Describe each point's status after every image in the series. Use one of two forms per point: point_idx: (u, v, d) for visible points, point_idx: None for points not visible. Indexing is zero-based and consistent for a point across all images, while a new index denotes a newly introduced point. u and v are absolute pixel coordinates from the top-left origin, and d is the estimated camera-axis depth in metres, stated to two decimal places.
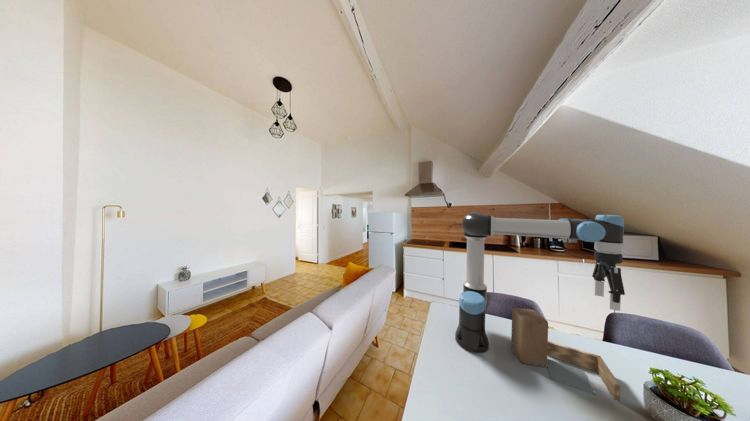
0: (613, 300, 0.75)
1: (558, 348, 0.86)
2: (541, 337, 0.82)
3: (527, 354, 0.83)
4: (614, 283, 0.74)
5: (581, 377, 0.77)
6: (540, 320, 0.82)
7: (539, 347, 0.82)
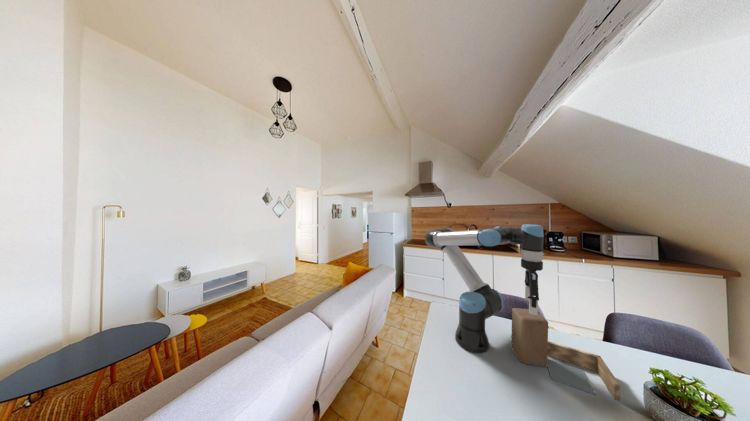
0: (531, 305, 0.80)
1: (558, 348, 0.86)
2: (541, 337, 0.82)
3: (527, 354, 0.83)
4: (531, 289, 0.79)
5: (581, 377, 0.77)
6: (540, 320, 0.82)
7: (539, 347, 0.82)
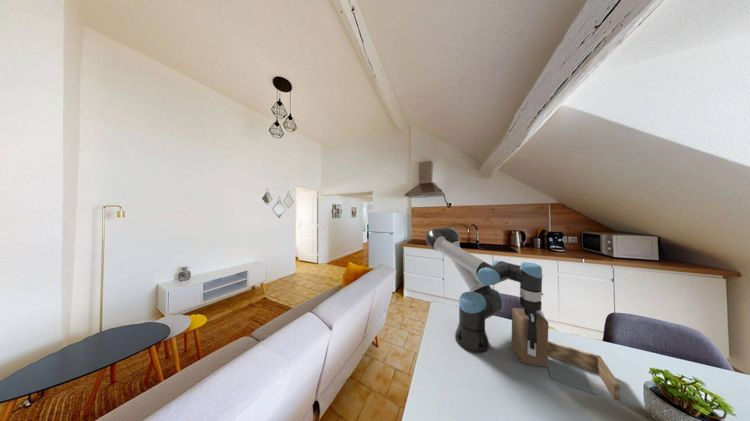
0: (530, 346, 0.81)
1: (558, 348, 0.86)
2: (541, 337, 0.82)
3: (527, 354, 0.83)
4: (530, 331, 0.80)
5: (581, 377, 0.77)
6: (540, 320, 0.82)
7: (539, 347, 0.82)
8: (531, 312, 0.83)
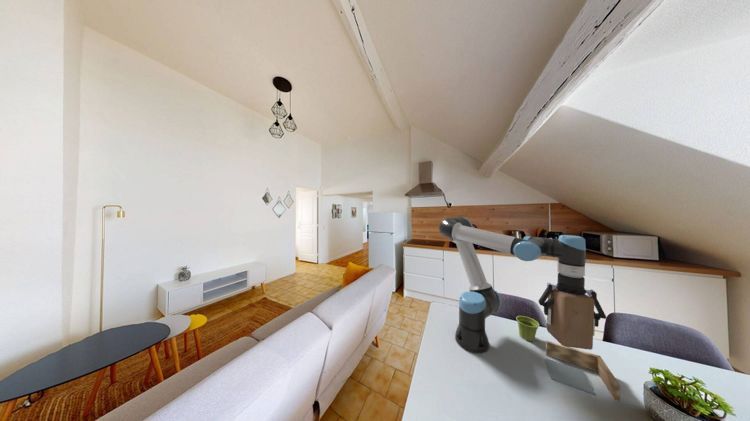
0: None
1: (558, 348, 0.86)
2: (558, 310, 0.77)
3: None
4: (542, 295, 0.82)
5: (581, 377, 0.77)
6: (559, 293, 0.77)
7: (557, 321, 0.77)
8: (558, 284, 0.79)
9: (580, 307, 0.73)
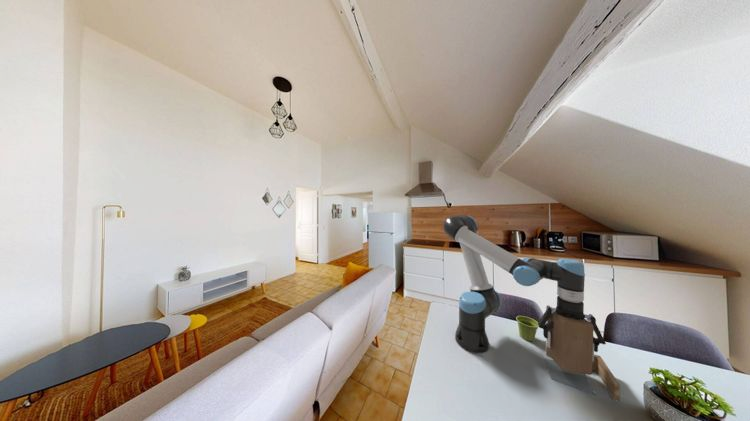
0: None
1: None
2: (557, 334, 0.77)
3: None
4: None
5: (581, 377, 0.77)
6: (558, 317, 0.77)
7: (556, 345, 0.77)
8: (557, 307, 0.79)
9: (580, 333, 0.73)
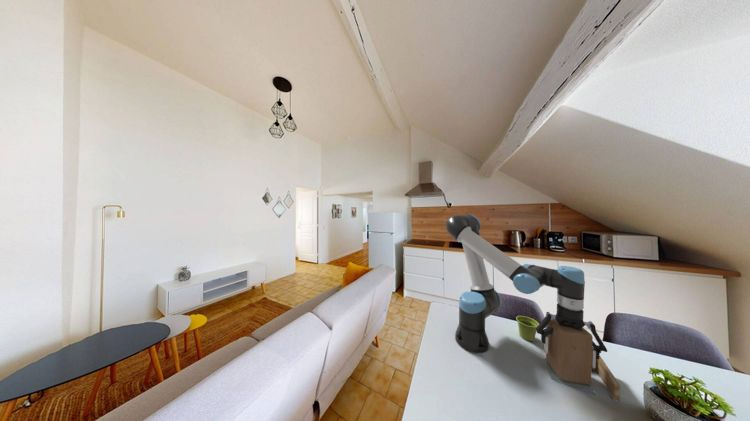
0: None
1: None
2: (556, 343, 0.77)
3: (548, 354, 0.82)
4: (540, 323, 0.83)
5: None
6: (557, 326, 0.77)
7: (555, 354, 0.78)
8: (557, 314, 0.79)
9: (578, 343, 0.73)
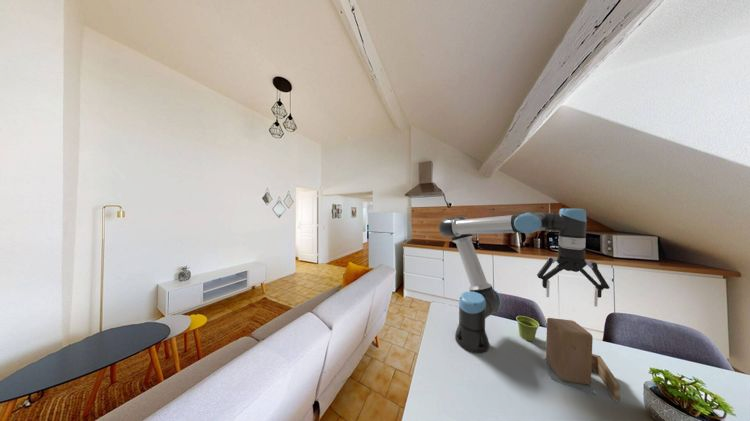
0: None
1: None
2: (556, 343, 0.77)
3: (548, 354, 0.82)
4: None
5: None
6: (557, 326, 0.77)
7: (555, 354, 0.78)
8: (558, 257, 0.79)
9: (578, 343, 0.73)
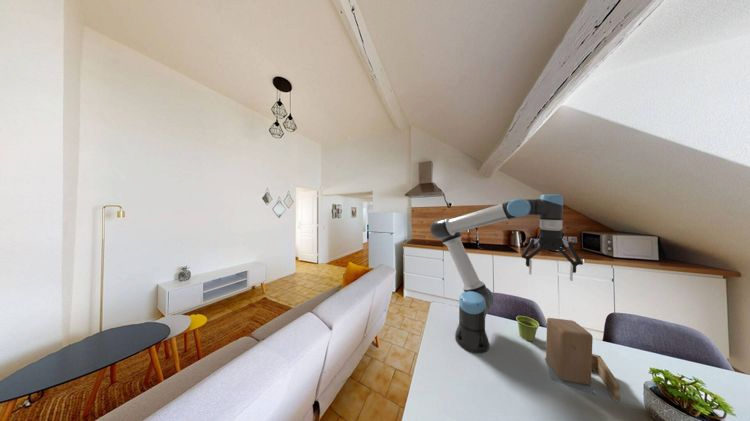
0: None
1: None
2: (556, 343, 0.77)
3: (548, 354, 0.82)
4: (525, 249, 0.91)
5: None
6: (558, 326, 0.77)
7: (555, 354, 0.78)
8: None
9: (578, 343, 0.73)
